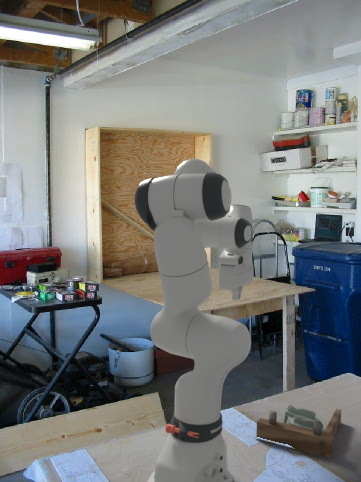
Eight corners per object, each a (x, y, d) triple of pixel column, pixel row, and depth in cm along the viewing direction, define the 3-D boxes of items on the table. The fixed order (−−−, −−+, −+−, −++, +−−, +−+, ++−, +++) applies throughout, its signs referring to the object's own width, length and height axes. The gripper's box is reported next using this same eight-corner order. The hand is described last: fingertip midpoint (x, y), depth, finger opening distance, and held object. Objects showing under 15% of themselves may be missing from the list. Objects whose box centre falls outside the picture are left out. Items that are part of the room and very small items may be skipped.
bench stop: (330, 458, 128) (332, 428, 127) (256, 439, 138) (257, 411, 137) (346, 423, 148) (347, 397, 147) (279, 409, 157) (280, 384, 156)
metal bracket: (292, 420, 137) (280, 397, 152) (286, 439, 138) (274, 415, 153) (341, 434, 138) (324, 410, 153) (335, 453, 139) (318, 427, 154)
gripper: (240, 252, 168) (239, 293, 169) (215, 259, 150) (214, 304, 152) (258, 253, 165) (257, 295, 167) (235, 260, 147) (233, 306, 149)
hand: (236, 299), depth 159 cm, fingers closed
